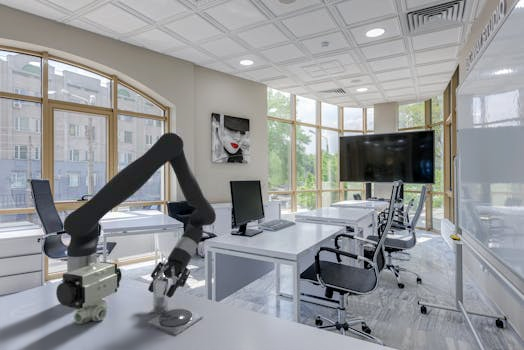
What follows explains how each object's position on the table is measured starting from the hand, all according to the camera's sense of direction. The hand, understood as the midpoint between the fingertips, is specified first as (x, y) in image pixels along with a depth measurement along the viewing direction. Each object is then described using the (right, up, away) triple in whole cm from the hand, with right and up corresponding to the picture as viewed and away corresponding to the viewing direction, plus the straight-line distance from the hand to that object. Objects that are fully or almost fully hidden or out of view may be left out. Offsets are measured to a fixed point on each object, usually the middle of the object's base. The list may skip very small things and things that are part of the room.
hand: (159, 293), depth 101 cm
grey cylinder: (0, -6, +1) cm, 6 cm away
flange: (+8, -6, -7) cm, 12 cm away
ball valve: (-19, -6, -6) cm, 21 cm away
